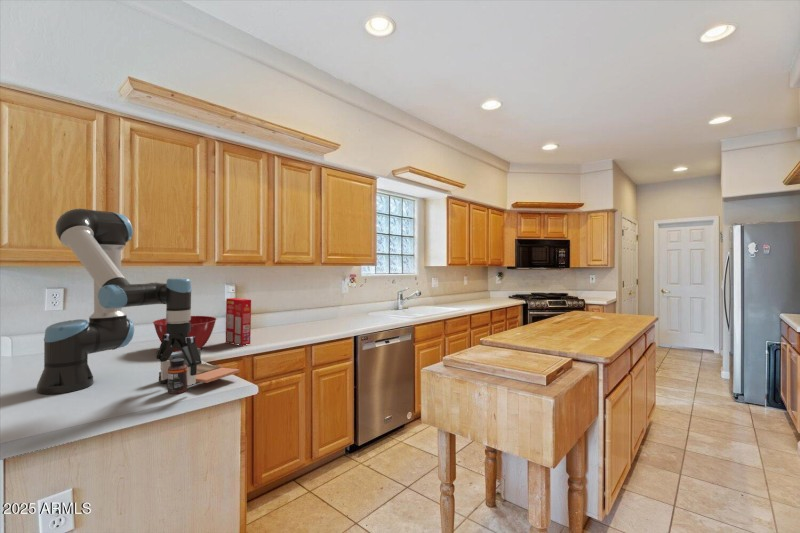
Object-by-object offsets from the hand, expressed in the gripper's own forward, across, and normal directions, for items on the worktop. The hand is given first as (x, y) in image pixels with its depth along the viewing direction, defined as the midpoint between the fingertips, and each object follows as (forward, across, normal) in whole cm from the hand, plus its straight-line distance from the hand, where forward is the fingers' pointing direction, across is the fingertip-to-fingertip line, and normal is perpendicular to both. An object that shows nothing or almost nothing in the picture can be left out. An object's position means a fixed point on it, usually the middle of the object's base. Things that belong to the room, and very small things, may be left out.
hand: (178, 381), depth 133 cm
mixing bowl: (+3, +54, -43) cm, 69 cm away
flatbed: (+3, +9, -12) cm, 16 cm away
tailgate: (0, +1, -12) cm, 12 cm away
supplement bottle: (+4, 0, 0) cm, 4 cm away
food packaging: (+3, +42, -66) cm, 79 cm away
